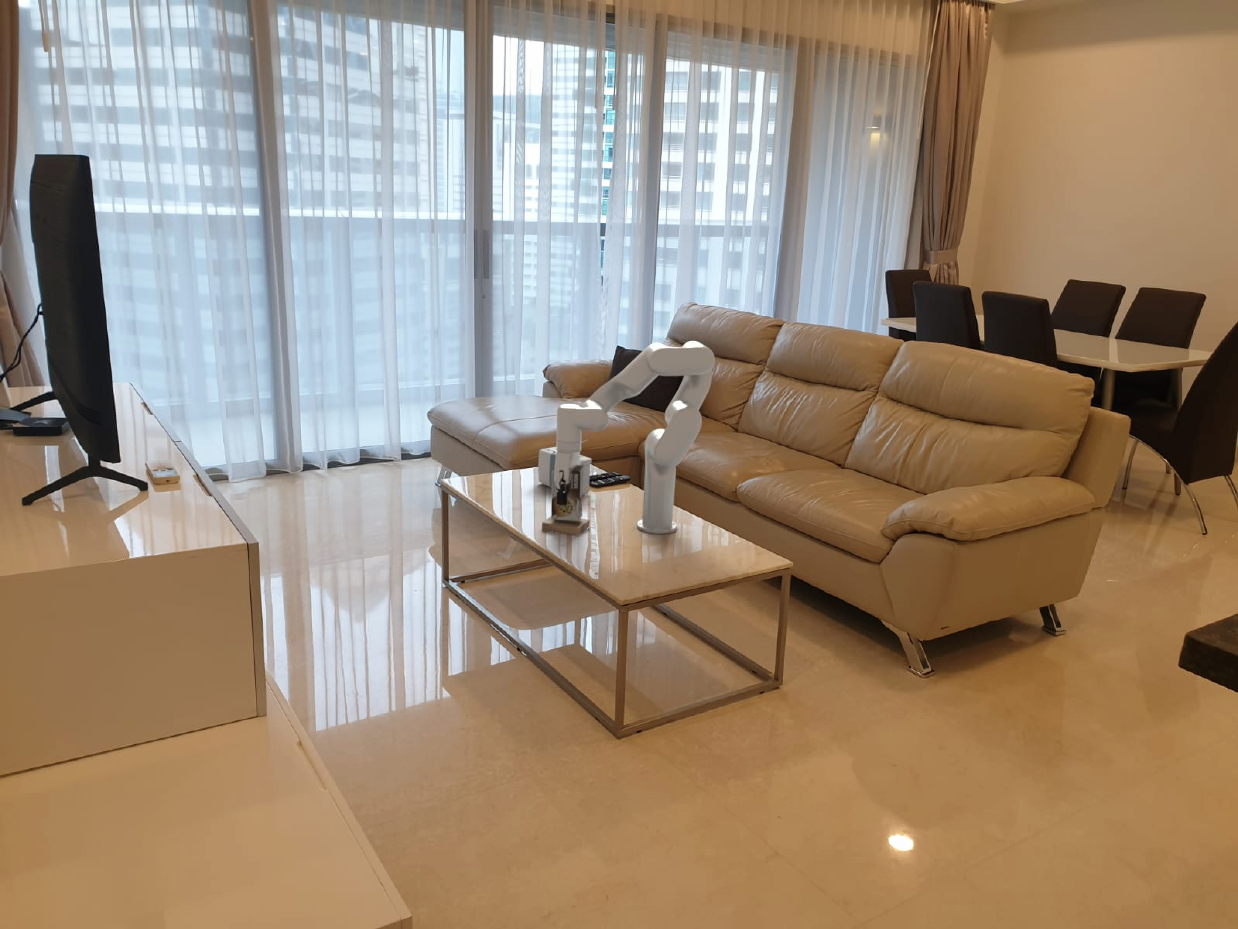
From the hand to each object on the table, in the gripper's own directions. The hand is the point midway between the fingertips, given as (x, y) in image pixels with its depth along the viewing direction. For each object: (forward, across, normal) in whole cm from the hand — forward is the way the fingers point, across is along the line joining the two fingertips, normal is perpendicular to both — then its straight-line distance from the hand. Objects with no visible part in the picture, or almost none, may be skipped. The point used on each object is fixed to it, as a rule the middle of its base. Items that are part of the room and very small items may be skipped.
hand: (567, 500), depth 278 cm
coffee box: (+6, 0, 0) cm, 6 cm away
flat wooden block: (+9, 0, 0) cm, 9 cm away
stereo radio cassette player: (+10, -37, -17) cm, 42 cm away
